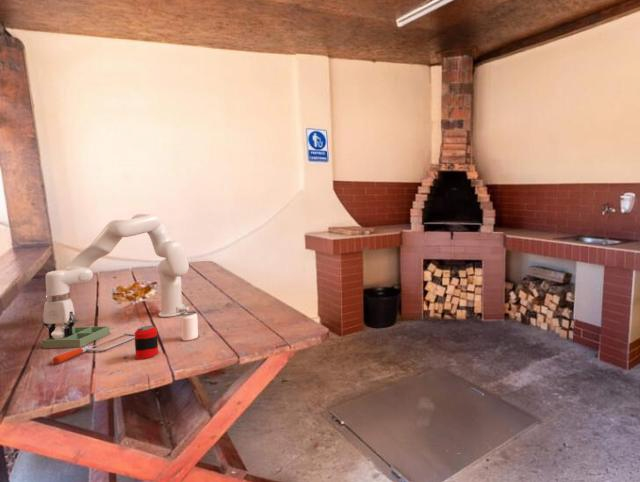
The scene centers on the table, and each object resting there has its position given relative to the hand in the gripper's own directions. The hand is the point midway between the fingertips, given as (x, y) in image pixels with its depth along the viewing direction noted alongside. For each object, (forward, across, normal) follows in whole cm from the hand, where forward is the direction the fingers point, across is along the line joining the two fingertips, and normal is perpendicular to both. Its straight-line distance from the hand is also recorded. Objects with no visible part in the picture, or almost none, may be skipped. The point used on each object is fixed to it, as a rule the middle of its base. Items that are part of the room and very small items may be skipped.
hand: (61, 335), depth 179 cm
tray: (+4, +4, +4) cm, 7 cm away
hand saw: (+4, +23, -6) cm, 24 cm away
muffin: (+2, 0, 0) cm, 2 cm away
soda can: (+4, +49, -15) cm, 51 cm away
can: (+4, +56, +3) cm, 56 cm away
